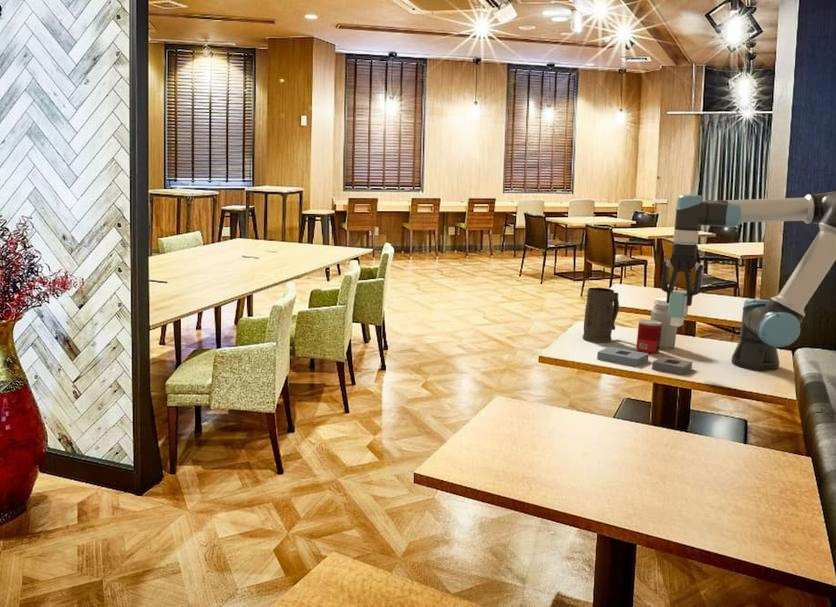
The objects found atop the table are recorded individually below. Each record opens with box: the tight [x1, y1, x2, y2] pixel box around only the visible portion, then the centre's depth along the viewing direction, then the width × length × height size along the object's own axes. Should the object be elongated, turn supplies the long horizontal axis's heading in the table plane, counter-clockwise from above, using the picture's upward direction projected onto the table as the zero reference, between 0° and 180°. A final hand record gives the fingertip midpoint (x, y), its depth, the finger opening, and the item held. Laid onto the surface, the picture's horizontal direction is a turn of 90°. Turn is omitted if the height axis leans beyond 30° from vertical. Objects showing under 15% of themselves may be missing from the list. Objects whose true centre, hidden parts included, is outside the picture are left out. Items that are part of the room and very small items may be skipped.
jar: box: [650, 296, 678, 350], centre depth 291 cm, size 10×10×18 cm
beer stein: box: [582, 287, 620, 344], centre depth 299 cm, size 15×11×20 cm
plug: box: [668, 290, 688, 328], centre depth 256 cm, size 4×6×11 cm, turn 144°
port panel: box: [596, 346, 650, 367], centre depth 269 cm, size 14×11×2 cm
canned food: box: [635, 319, 662, 355], centre depth 283 cm, size 8×8×11 cm
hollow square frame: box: [651, 356, 693, 375], centre depth 260 cm, size 10×10×2 cm
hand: (677, 314), depth 256 cm, fingers closed on plug, 4 cm apart
